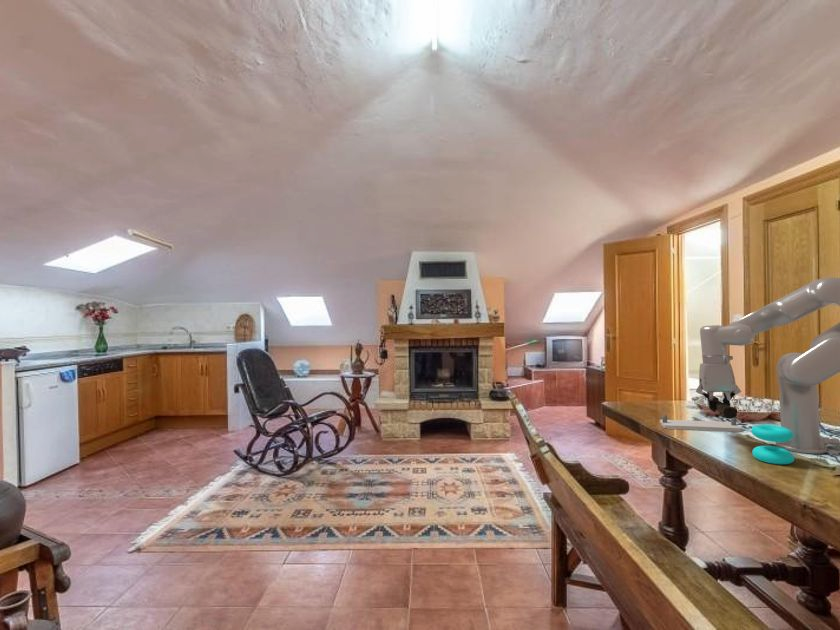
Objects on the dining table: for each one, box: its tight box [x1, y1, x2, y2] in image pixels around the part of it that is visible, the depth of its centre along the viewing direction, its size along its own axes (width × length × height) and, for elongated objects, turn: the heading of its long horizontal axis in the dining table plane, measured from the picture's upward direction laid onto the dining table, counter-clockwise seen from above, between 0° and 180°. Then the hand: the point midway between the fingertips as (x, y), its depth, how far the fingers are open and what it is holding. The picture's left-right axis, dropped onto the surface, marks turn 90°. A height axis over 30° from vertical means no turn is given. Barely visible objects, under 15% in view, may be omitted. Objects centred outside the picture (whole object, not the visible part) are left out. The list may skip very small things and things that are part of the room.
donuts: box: [750, 424, 795, 465], centre depth 128 cm, size 10×10×10 cm
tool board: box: [659, 414, 743, 433], centre depth 164 cm, size 26×9×4 cm, turn 71°
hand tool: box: [706, 395, 738, 419], centre depth 147 cm, size 19×4×5 cm, turn 161°
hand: (719, 410), depth 147 cm, fingers closed on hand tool, 3 cm apart
